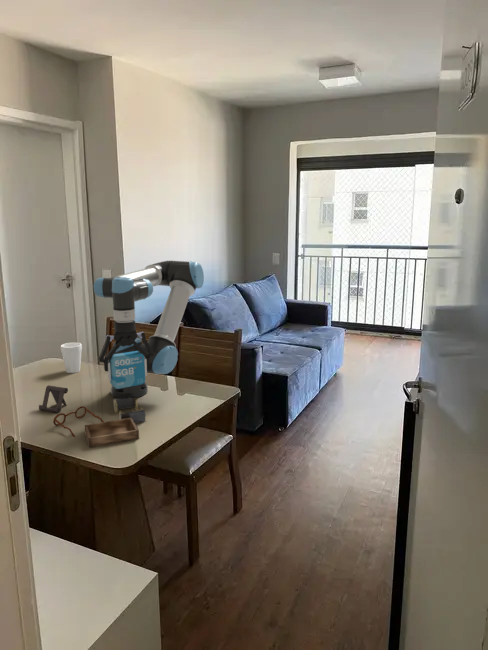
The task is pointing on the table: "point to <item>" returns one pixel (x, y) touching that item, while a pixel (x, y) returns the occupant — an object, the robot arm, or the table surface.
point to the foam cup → (72, 356)
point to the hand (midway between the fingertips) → (127, 377)
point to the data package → (127, 369)
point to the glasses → (75, 416)
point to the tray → (111, 432)
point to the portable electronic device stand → (58, 396)
